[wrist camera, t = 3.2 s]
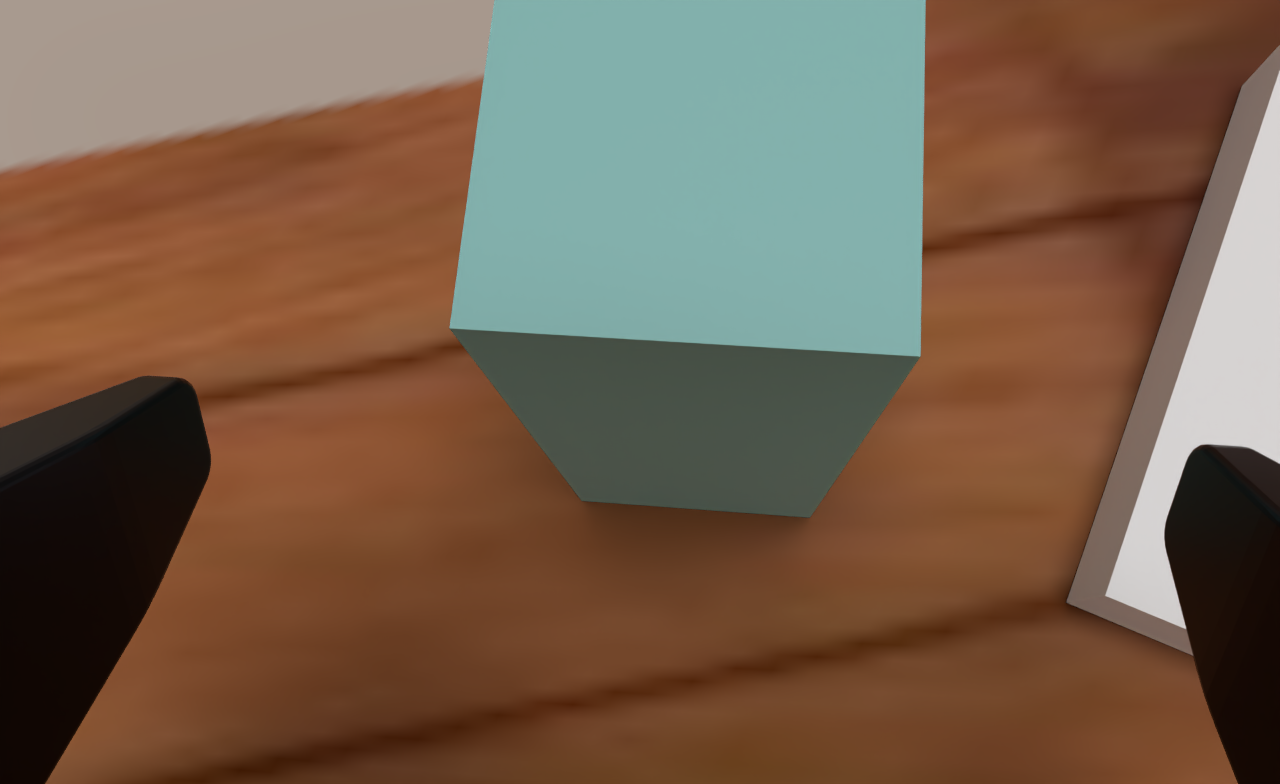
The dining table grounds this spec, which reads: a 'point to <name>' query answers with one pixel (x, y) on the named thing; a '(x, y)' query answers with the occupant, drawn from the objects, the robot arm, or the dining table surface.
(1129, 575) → the base slab
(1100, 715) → the dining table surface
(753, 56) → the teal block
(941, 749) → the dining table surface
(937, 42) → the dining table surface
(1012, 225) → the dining table surface
